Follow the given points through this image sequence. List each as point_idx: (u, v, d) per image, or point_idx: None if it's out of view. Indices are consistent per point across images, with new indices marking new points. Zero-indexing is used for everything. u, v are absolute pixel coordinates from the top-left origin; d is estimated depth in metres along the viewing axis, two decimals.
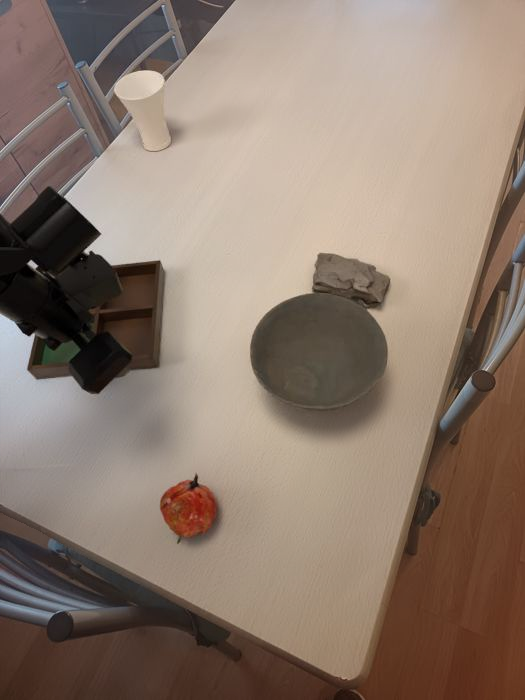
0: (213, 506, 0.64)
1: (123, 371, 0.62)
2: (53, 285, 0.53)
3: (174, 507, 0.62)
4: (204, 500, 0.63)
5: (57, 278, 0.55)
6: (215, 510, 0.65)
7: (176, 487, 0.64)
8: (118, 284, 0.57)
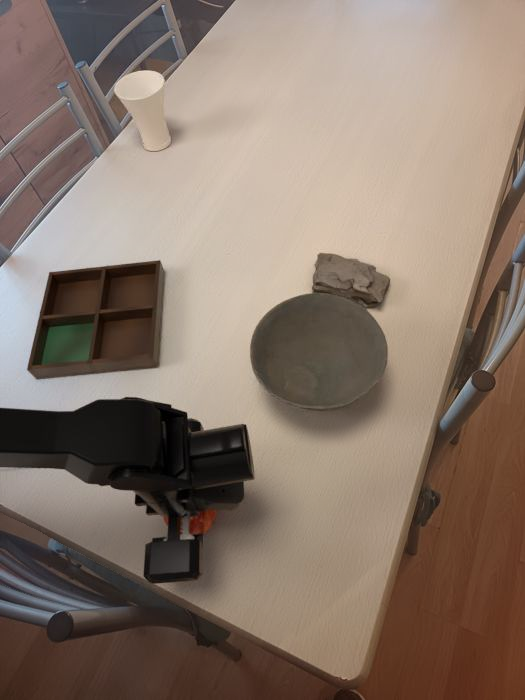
0: None
1: None
2: None
3: None
4: None
5: None
6: (215, 511, 0.65)
7: None
8: (237, 505, 0.57)
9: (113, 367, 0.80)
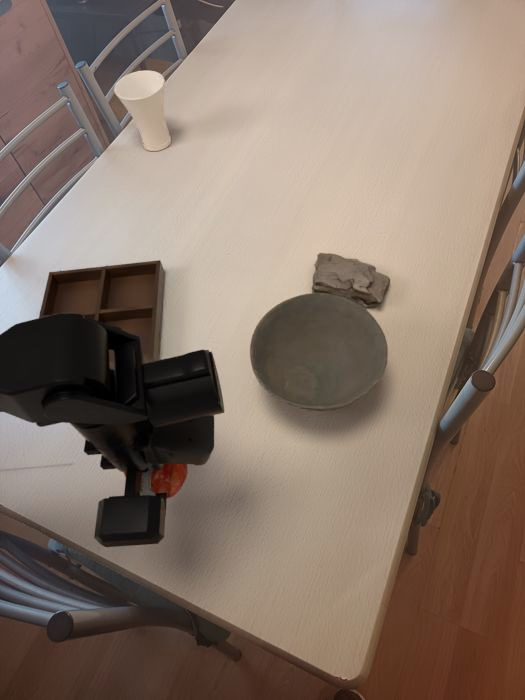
0: (183, 466, 0.56)
1: None
2: (145, 427, 0.46)
3: None
4: None
5: None
6: (185, 471, 0.57)
7: None
8: (206, 458, 0.49)
9: (113, 367, 0.80)
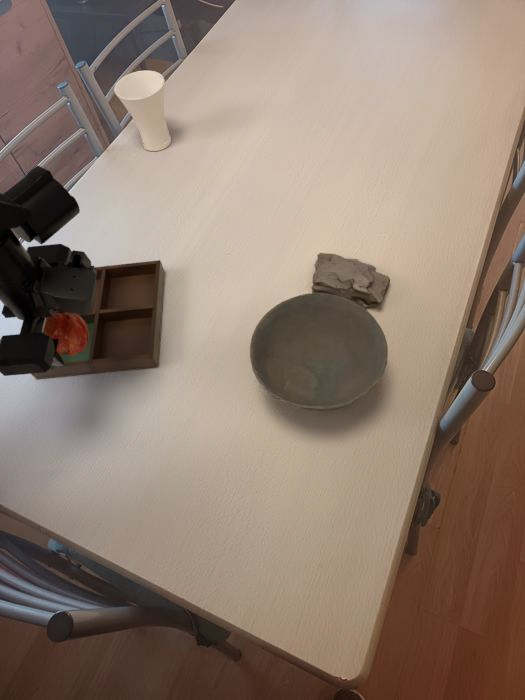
0: (82, 330, 0.67)
1: (55, 363, 0.66)
2: (32, 274, 0.57)
3: None
4: (71, 321, 0.66)
5: (47, 269, 0.60)
6: (85, 336, 0.68)
7: None
8: (87, 307, 0.60)
9: (113, 367, 0.80)
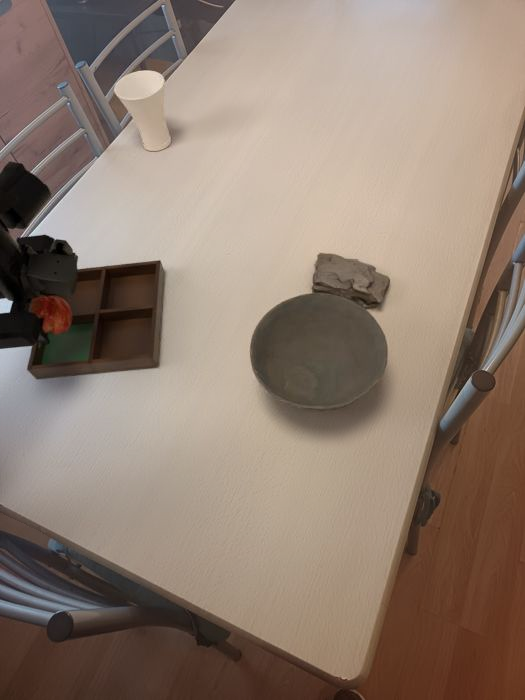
0: (66, 311, 0.75)
1: (42, 341, 0.74)
2: (20, 259, 0.65)
3: None
4: (56, 303, 0.74)
5: (33, 255, 0.68)
6: (69, 317, 0.76)
7: None
8: (69, 289, 0.68)
9: (113, 367, 0.80)
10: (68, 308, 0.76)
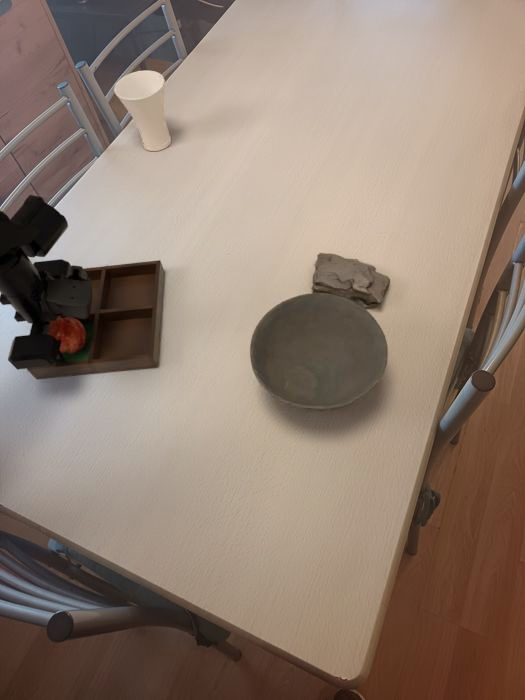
0: (80, 332, 0.80)
1: (58, 360, 0.79)
2: (39, 286, 0.70)
3: None
4: (71, 324, 0.79)
5: (51, 281, 0.72)
6: (83, 337, 0.81)
7: None
8: (85, 312, 0.73)
9: (113, 367, 0.80)
10: (82, 328, 0.81)
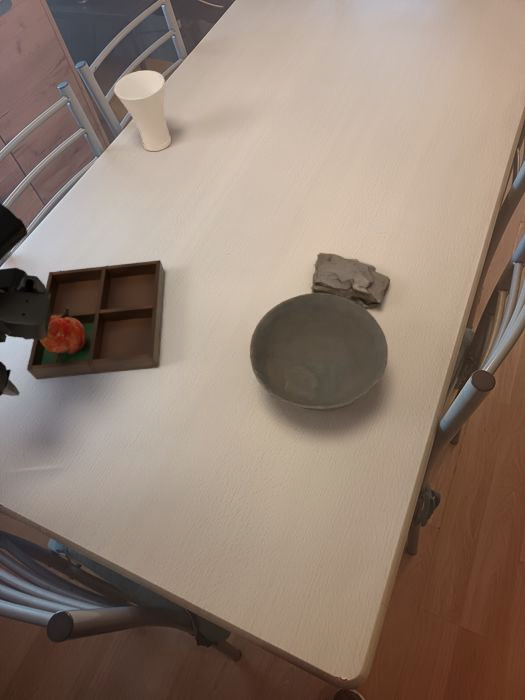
0: (80, 332, 0.80)
1: (10, 393, 0.65)
2: None
3: None
4: (71, 324, 0.79)
5: None
6: (83, 337, 0.81)
7: None
8: (40, 332, 0.60)
9: (113, 367, 0.80)
10: (82, 328, 0.81)
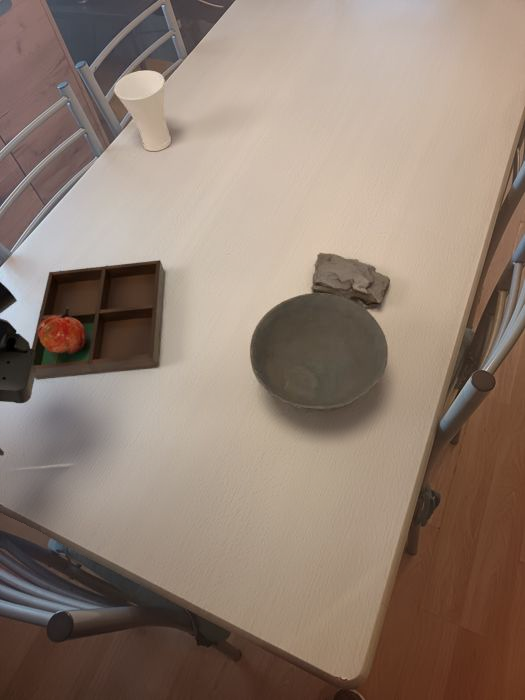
0: (80, 332, 0.80)
1: None
2: None
3: (45, 328, 0.78)
4: (71, 324, 0.79)
5: None
6: (83, 337, 0.81)
7: None
8: (23, 396, 0.55)
9: (113, 367, 0.80)
10: (82, 328, 0.81)
